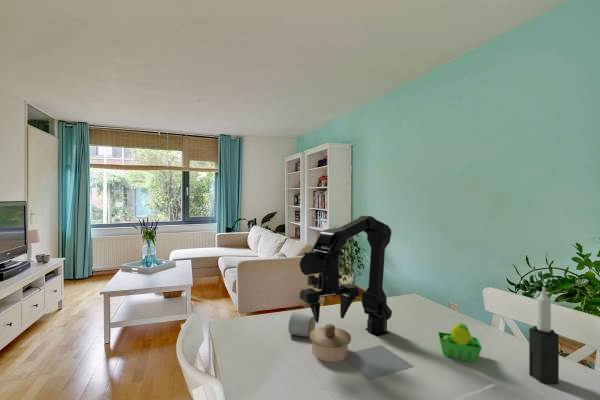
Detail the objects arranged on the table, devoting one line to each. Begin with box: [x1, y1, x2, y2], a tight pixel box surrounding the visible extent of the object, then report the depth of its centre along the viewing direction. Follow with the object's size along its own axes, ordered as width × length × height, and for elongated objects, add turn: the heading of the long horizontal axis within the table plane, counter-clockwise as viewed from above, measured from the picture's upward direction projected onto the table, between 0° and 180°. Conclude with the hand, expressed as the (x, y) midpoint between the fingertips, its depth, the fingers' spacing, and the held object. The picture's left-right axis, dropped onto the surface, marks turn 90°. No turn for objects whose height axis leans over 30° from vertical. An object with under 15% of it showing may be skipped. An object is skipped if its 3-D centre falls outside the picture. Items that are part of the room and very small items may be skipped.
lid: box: [308, 323, 352, 348], centre depth 93 cm, size 13×13×4 cm
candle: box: [528, 286, 560, 385], centre depth 81 cm, size 5×5×25 cm
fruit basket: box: [437, 322, 483, 363], centre depth 93 cm, size 11×9×11 cm
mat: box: [344, 344, 415, 381], centre depth 89 cm, size 16×14×1 cm
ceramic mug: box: [288, 311, 316, 338], centre depth 108 cm, size 11×8×8 cm
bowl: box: [311, 341, 349, 363], centre depth 93 cm, size 11×11×5 cm
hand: (329, 320), depth 93 cm, fingers open, 9 cm apart
